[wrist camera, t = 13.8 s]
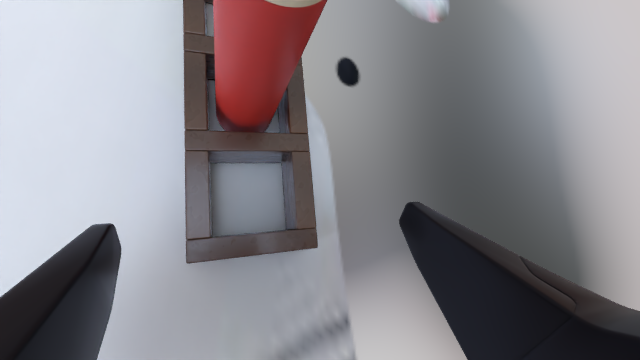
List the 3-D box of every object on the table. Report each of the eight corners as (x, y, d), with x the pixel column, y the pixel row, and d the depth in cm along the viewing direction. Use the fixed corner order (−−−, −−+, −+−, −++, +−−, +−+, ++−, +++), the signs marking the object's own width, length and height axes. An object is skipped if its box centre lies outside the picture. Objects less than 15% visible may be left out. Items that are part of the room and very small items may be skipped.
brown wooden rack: (303, 245, 19) (318, 247, 17) (191, 258, 17) (186, 263, 14) (285, 4, 22) (294, -28, 20) (187, -16, 20) (182, -56, 17)
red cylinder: (280, 126, 20) (360, -13, 9) (232, 147, 19) (252, 12, 7) (255, 81, 20) (304, -118, 9) (205, 98, 19) (184, -114, 7)
